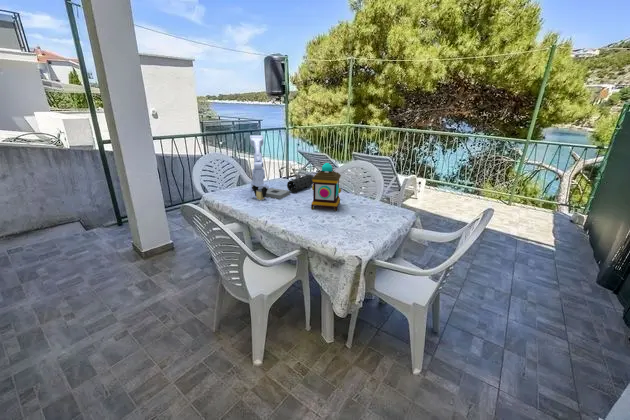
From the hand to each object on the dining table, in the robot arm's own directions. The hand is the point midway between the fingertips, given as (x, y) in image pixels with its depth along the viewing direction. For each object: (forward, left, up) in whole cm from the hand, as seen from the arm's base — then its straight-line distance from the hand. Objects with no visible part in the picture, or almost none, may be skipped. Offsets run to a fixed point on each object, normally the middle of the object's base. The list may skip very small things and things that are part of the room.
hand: (260, 196), depth 203 cm
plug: (0, 0, -2) cm, 2 cm away
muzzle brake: (+13, +38, -2) cm, 40 cm away
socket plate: (+4, +13, -2) cm, 14 cm away
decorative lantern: (+49, +9, -2) cm, 50 cm away
